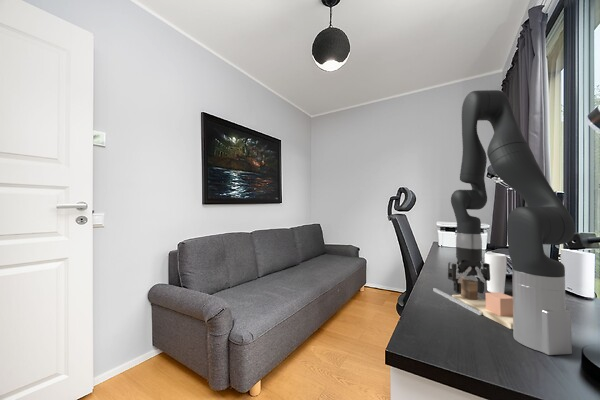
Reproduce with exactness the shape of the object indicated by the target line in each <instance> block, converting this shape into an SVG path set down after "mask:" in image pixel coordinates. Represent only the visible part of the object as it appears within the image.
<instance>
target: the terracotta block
mask: <svg viewBox="0 0 600 400" xmlns="http://www.w3.org/2000/svg"><path fill="white" fill-rule="evenodd" d="M485 300H486V309H487V310H489V311H491V312H493V313H495V314H497V315H499V316H513V296H511V295H508V294H505V293H504V294H503V293H500V292H497V293H491V292H485Z"/></svg>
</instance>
